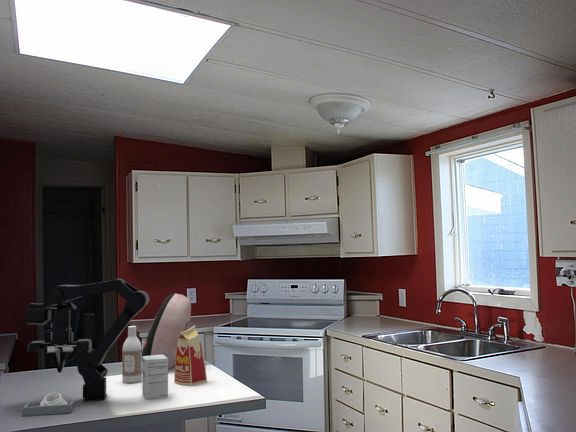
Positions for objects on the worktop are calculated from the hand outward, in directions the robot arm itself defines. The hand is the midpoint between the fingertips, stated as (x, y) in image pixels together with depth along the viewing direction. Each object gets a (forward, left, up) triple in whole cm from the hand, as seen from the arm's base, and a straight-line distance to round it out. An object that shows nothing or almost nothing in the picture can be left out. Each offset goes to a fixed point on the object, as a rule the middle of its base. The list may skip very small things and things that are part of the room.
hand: (60, 372), depth 177 cm
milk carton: (-41, -14, -9) cm, 44 cm away
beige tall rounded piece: (-32, -43, -9) cm, 54 cm away
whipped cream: (-1, +9, -9) cm, 13 cm away
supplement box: (-30, +2, -9) cm, 32 cm away
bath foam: (-20, -21, -9) cm, 31 cm away
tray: (0, +14, -9) cm, 16 cm away
